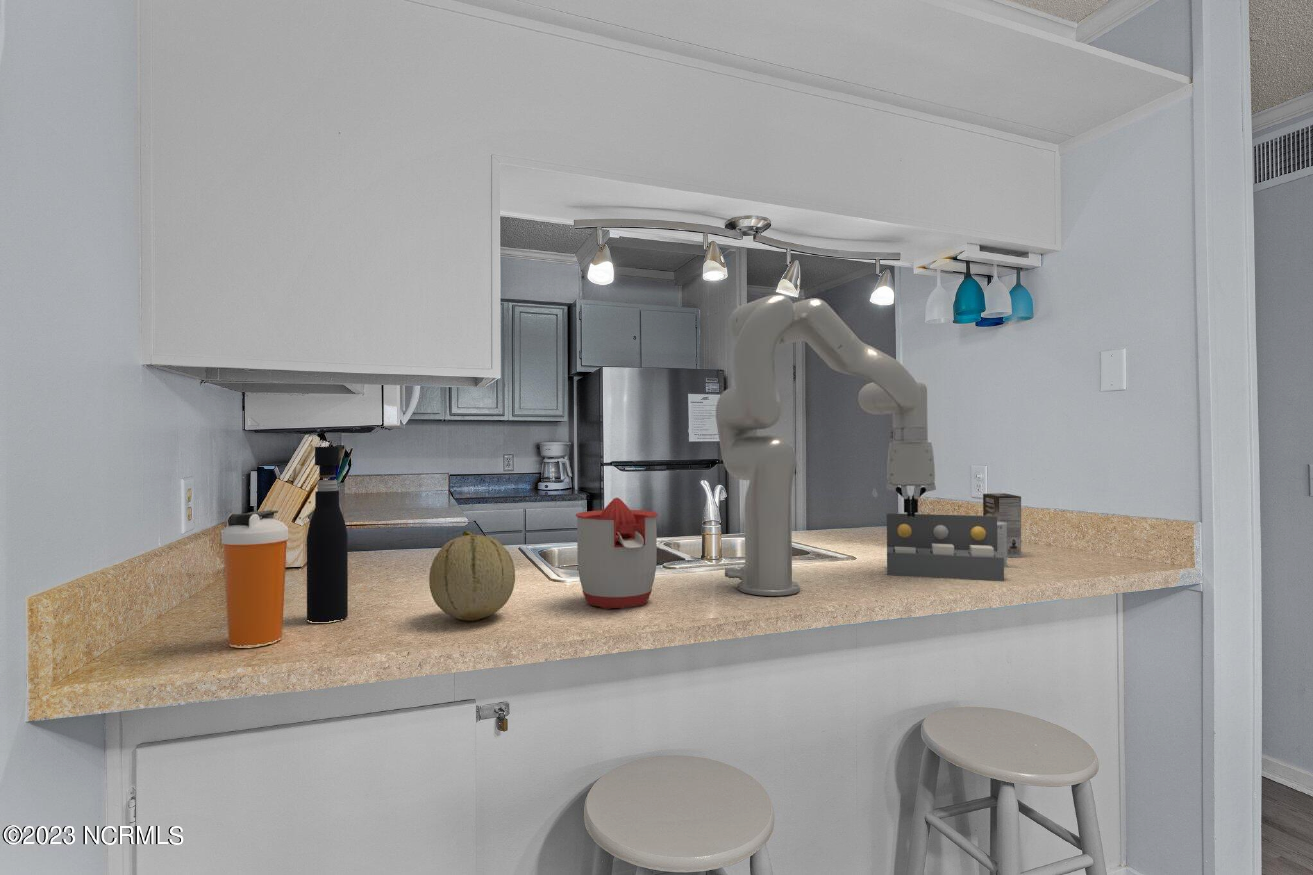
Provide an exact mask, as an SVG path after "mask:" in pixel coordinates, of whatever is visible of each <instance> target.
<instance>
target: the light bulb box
mask: <svg viewBox="0 0 1313 875" xmlns="http://www.w3.org/2000/svg"><path fill="white" fill-rule="evenodd" d="M997 550H998V552H999V553H1000V554H1001V555H1002V556H1003V557H1004V569H1007V567H1008V562H1007V561H1008V557H1007V523H1003V522H997Z"/></svg>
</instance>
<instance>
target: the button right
mask: <svg viewBox="0 0 1313 875" xmlns="http://www.w3.org/2000/svg"><path fill="white" fill-rule="evenodd" d="M970 556H988V557H994V548H993V547H992V546H983V545H970Z"/></svg>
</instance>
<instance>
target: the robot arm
mask: <svg viewBox="0 0 1313 875" xmlns="http://www.w3.org/2000/svg"><path fill="white" fill-rule="evenodd" d="M728 328H729V332H730V334H731V335H732V337H733V338H734V339H735V340H736V341H735V342H734V348H733V353H732V371H733V378H734V379H733V380H734V386H731V387H730V388H727V389H725V390H723V392H722V393H721V394H720V396H719V398H718V400H717V402H716V406H715V407H716V408H715V421H716V429H717V435H718V440H719V448H720V451H721V459H722V462H723V465H724V466H725V470H726V471H727V472H728V474H729V475H731V477H733V478H735V479H737V480H740V481H749V483H748V486H747V489H746V493H745V498H744V566H743V567H742V566H740V567H739V568H735V567H725V569H724V577H725V578H728V579H739V582H738V583H737V590H739V592H741V593H745V594H749V595H754V596H765V597H766V596H768V597H769V596H770V597H779V596H789V595H794V594H797V593H799V592H800V591H801V585H800V584H799V583H798V582H796V581H793V556H792V555H793V551H792V549H793V548H792V547H793V546H792V544H793V543H792V542H793V541H792V540H793V537H792V535H793V534H792V533H793V532H792V530H793V528H792V527H793V526H792V519H793V518H792V499H793V498H792V493H793V492H792V491H793V485H794V483H793V482H794V479H795V478H794V477H795V473H796V466H797V458H796V457H797V456H796V452H795V449H794V447H793V446H792V444H791V443H790V442H789V441H787V440H786V439H784V438H782V437H780V436H777V435H771V434H770V435H769V434H768V435H765V434H764V435H758V430H766V429H769V428H772V427H774V426H775V425H776V424H778V423H779V421H780V418H781V416H782V404H781V399H780V398H781V397H780V391H779V386H778V384H779V383H778V379H777V378H778V377H777V371H776V360H775V359H776V352H777V348H778V345H785V344H792V343H798V342H803V341H804V342H806V343H807V344H808V346H809V347H810V348H812V349H813V351H814V352H815V353H816V354H817V355H818V356H819V357H820V358H821V359H822V360H823V362H825V364H827V366H828V367H829V368H830V369H832V370H834V371H836V372H839V373H841V374H845V375H847V376H849V375H850V376H853V377H857V378H861V379H864V380H866V381H869V382H870V383H867V384H865V385H864V386H863V387H862V388H861V389H860V391H859V393H858V396H857V397H858V398H857V399H858V404H859V406H860V408H861V409H862V410H863V411H864V412H866V413H868V414H871V415H889V414H892V430H889V431H886V434H885V435H886V438H890V439H892V442H889V445H888V452H887V463H886V465H887V466H886V467H887V469H886V471H887V472H886V476H887V482H886V486H885V488H886V490H888V491H891V492H895V493H898V494H899V496H901V497H902V498H903V514H907V516H908V517H910V516H912V517H915V514H919V499H920V498H921V496H923V495H924V494H925V493H927V492H933V491H936V489H937V487H936V483H935V479H936V475H935V474H936V471H935V469H936V468H935V457H934V455H935V454H934V449H933V444H932V441H930V442H929V441H928V439H929V438H928V437H929V436H928V435H929V434H928V433H929V432H928V430H929V428H928V427H929V426H928V387H927V385H926V384H925V383H923V382H917V381H916V378H914V377H913V375H912V374H911V373H910V372H909V371H908V370H907V368H905V366H904V365H903V364H901V362H899V361H898V360H897V359H896V358H894V357H892V356H890V355H889V354H886V352H885V353H884V352H883V351H881V350H879V349H877V348H875V347H874V346H871V345H868V344H867V343H864V342H863V341H862V340H860V338H858V336H857V335H856V334H855V333H854V332H853V331H852V330H851V328H850V327H849V326H848V325H847V324H846V323H845V322H844V321H843V320H842V319H841V317H839V315H838V314H837V313H836V312H835V310H834V309H833V308H832V307H831V306H830V305H829V304H828V303H827V302H826V301H824V300H822V299H821V298H815V297H814V298H808V299H803V300H799V301H796V302H793V301H792V300H791V299H790V298H789V297H788V296H786V295H783V294H772V295H771V294H770V295H767V296H763V297H762V298H757V299H756V300H753V301H750V302H747V303H744V304H742V305H740V306H738V307H736V308H735V309H734V310H733V312H732V313H731V314H730V317H729V320H728ZM907 486H909V487H910V486H912V487H914V488H913V494H912V496H911V497H910V495H909V492H908V487H907Z"/></svg>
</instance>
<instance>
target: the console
mask: <svg viewBox="0 0 1313 875" xmlns="http://www.w3.org/2000/svg"><path fill="white" fill-rule="evenodd" d="M932 544H952V545H953V546H954V555H941V554H932ZM970 545H983V546H992V547H993V548H994V557H988V556H970ZM895 547H915V549H916V553H895ZM886 575H887V576H904V577H921V578H922V577H923V578H924V577H925V578H938V579H939V578H941V579H942V578H943V579H958V580H959V579H960V580H978V581H996V582H997V581H998V582H1005V568H1004V557H1003V556H1002V555H1001V554H1000V553H999V552H998V550H997V516H983V515H974V514H973V515H972V514H971V515H969V514H968V515H967V514H965V515H964V514H963V515H962V514H934V513H933V514H930V513H929V514H928V513H927V514H926V513H925V514H924V513H915V517H912V516H910V517H908V516H907V513H898V512H897V513H895V512H894V513H892V512H891V513H889V512H887V513H886Z"/></svg>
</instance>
